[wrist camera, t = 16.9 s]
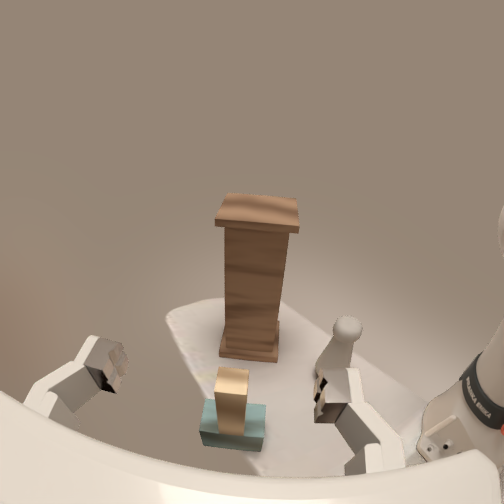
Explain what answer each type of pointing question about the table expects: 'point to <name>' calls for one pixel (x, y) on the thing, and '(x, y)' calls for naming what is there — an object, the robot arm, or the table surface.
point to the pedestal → (254, 272)
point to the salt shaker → (340, 344)
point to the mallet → (232, 414)
